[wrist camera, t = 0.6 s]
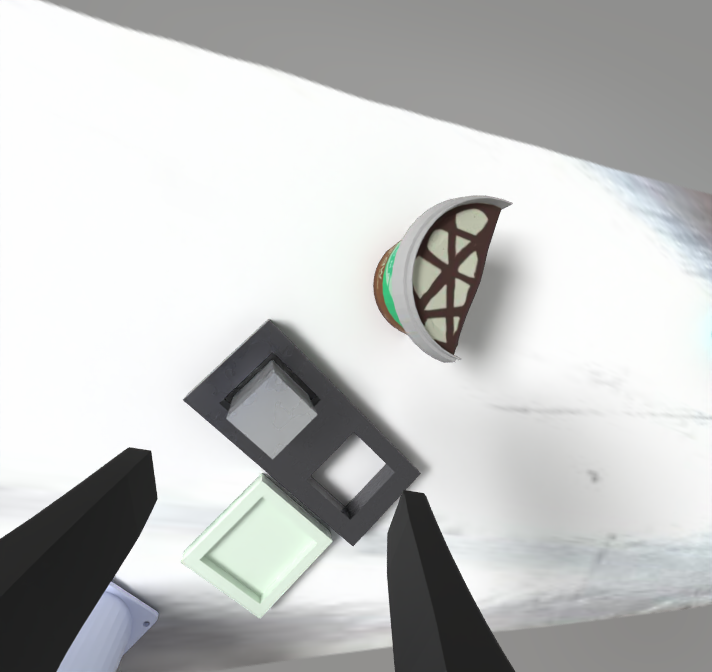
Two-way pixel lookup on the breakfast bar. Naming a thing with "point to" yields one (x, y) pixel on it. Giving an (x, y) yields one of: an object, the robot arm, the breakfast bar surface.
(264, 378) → the grey rectangular block
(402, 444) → the breakfast bar surface
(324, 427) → the dark grey rectangular frame
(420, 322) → the food container
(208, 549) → the parts tray
